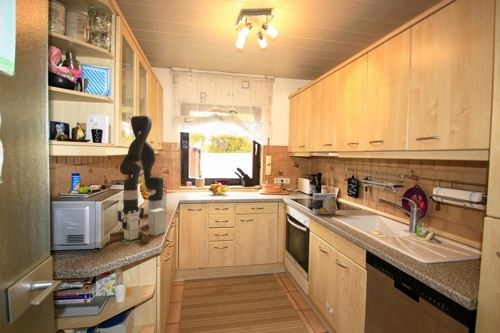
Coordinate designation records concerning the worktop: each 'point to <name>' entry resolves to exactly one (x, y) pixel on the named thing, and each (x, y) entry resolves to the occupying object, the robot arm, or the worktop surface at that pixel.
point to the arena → (120, 236)
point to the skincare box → (157, 221)
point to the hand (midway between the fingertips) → (131, 227)
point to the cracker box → (151, 192)
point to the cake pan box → (324, 203)
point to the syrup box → (131, 226)
